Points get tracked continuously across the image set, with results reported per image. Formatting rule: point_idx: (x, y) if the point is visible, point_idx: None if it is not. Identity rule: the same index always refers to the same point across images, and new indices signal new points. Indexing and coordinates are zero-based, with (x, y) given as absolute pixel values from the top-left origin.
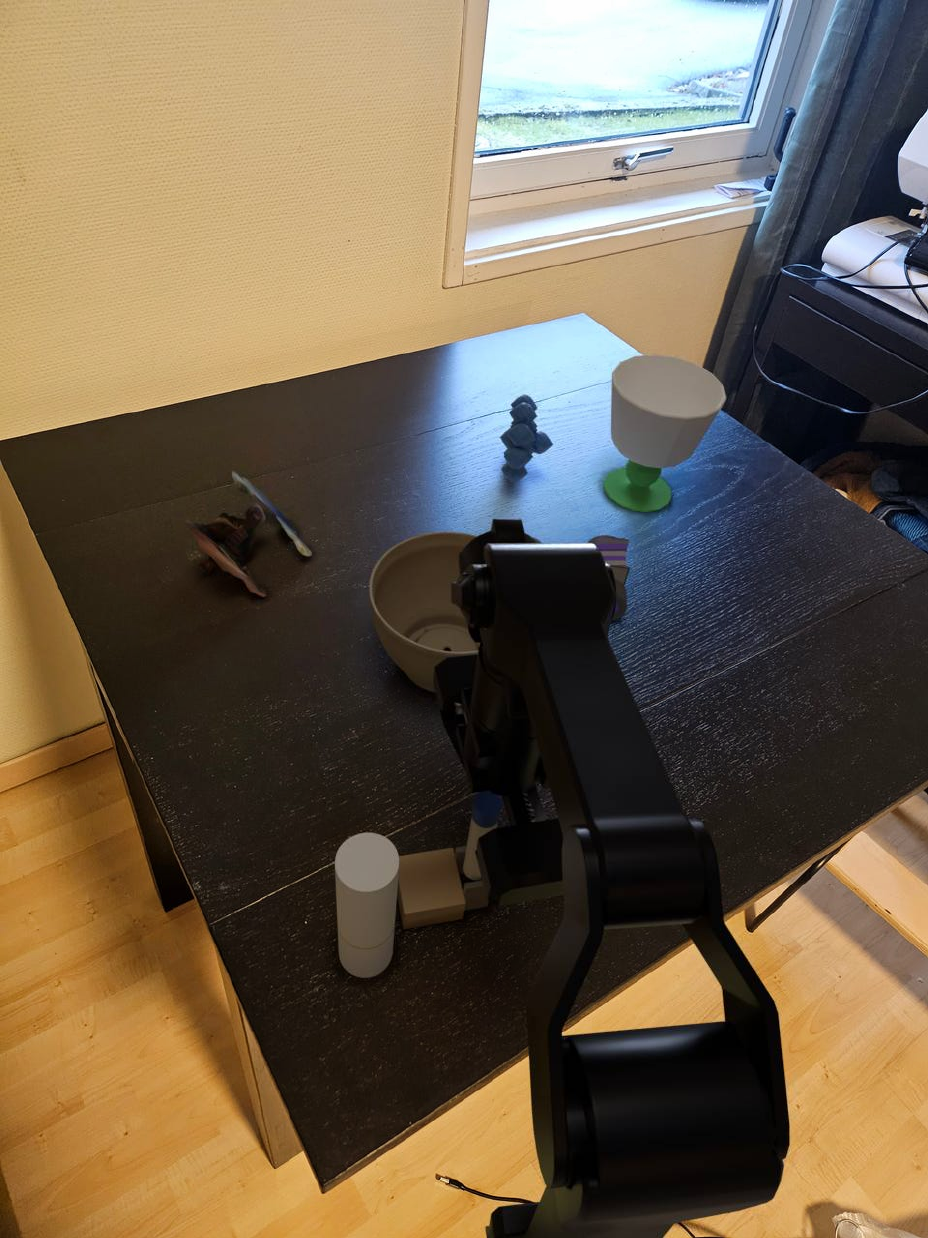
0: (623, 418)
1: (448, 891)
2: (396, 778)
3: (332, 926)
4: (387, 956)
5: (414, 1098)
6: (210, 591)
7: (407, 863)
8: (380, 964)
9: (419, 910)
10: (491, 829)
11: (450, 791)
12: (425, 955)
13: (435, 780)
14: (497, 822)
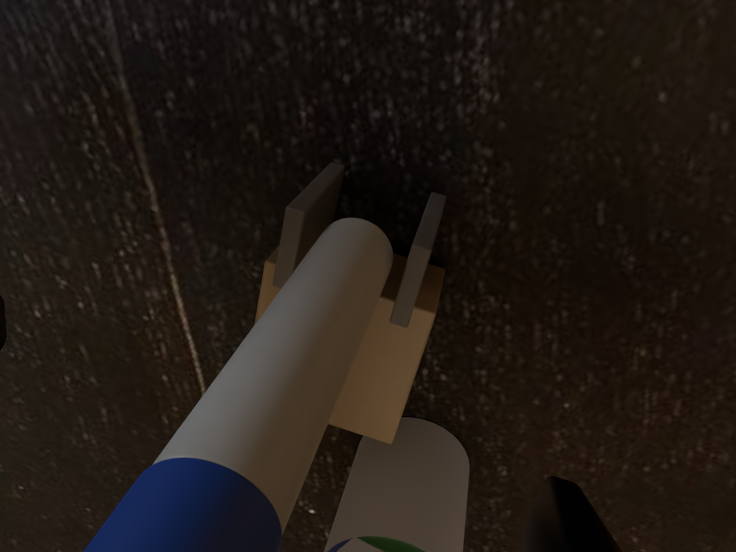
0: None
1: (382, 334)
2: (41, 225)
3: (338, 483)
4: (459, 490)
5: (731, 524)
6: None
7: None
8: (466, 500)
9: (398, 415)
10: (290, 501)
11: (98, 115)
12: (482, 377)
13: (59, 137)
14: (264, 476)
